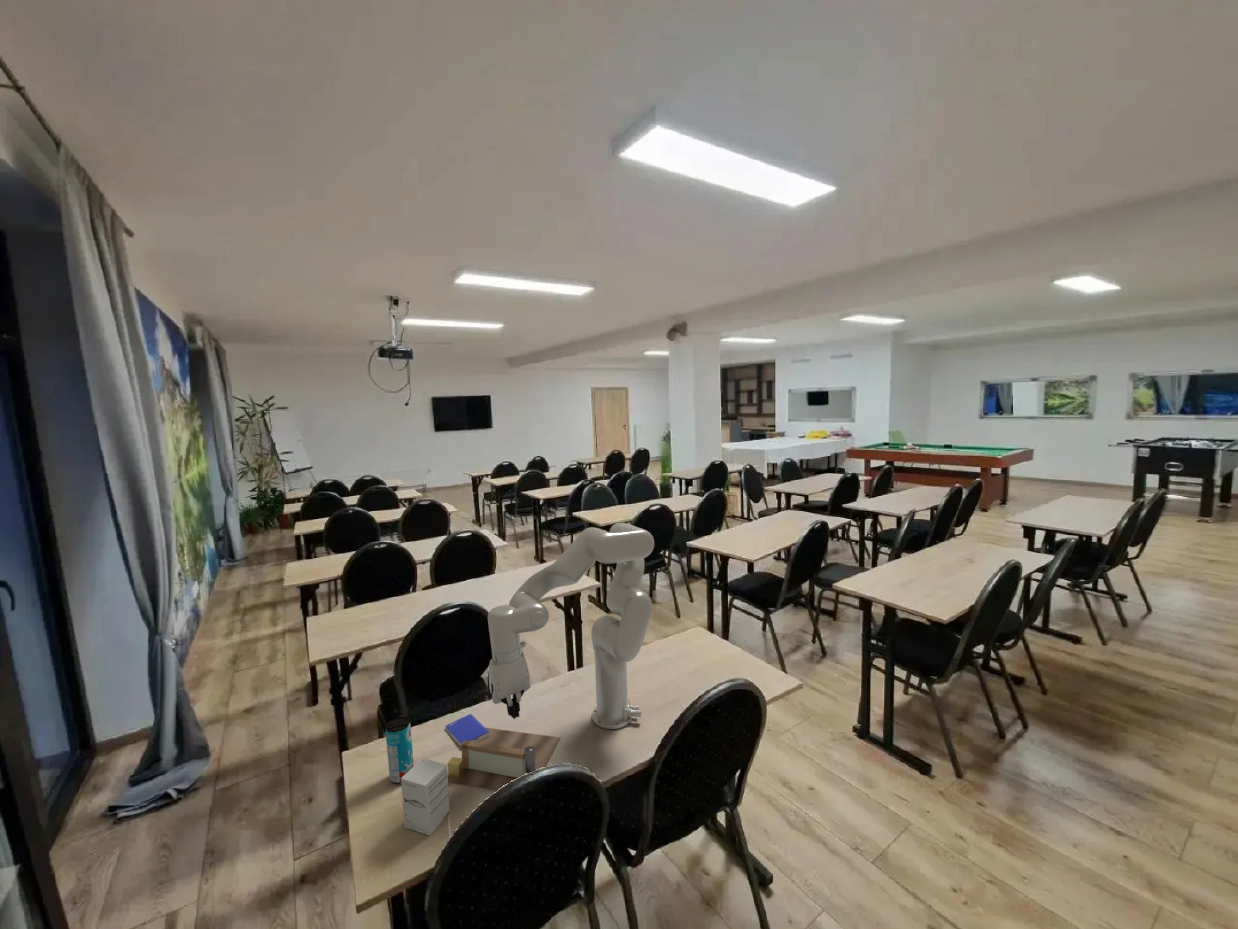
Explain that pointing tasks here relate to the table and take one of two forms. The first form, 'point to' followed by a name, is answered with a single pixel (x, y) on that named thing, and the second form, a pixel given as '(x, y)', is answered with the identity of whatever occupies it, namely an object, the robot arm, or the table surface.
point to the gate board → (510, 739)
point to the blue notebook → (467, 729)
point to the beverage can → (399, 748)
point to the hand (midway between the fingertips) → (514, 715)
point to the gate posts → (458, 764)
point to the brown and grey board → (493, 758)
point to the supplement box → (425, 796)
